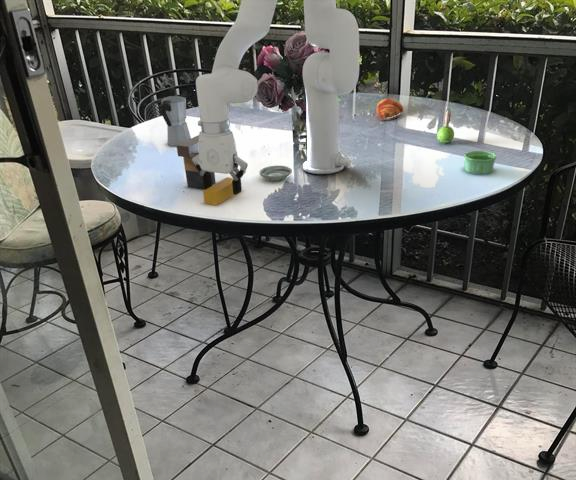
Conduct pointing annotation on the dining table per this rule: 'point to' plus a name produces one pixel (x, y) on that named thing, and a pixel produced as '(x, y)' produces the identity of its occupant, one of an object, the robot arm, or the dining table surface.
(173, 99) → the coffee maker
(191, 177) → the tower
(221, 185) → the top bar
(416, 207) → the dining table surface
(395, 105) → the croissant
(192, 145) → the lower bar
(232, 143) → the robot arm
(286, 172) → the saucer
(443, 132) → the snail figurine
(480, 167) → the ramekin
